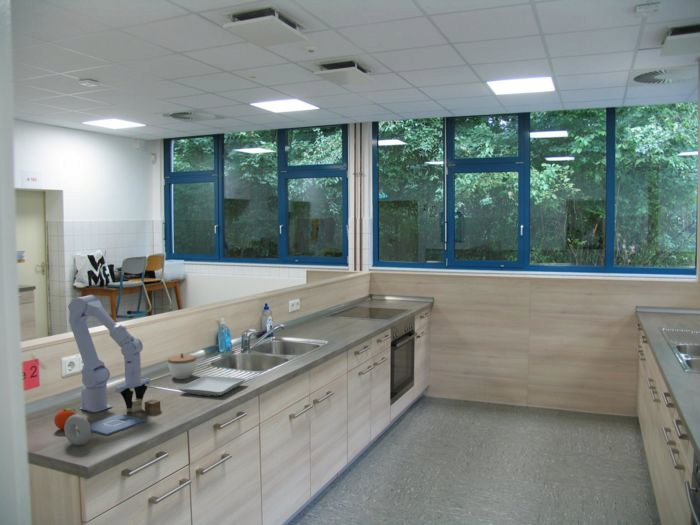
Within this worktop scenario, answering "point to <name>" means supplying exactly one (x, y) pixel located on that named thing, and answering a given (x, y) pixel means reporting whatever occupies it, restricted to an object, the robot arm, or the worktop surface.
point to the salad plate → (211, 385)
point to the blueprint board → (115, 424)
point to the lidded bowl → (182, 366)
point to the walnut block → (152, 406)
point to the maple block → (135, 405)
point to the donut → (82, 426)
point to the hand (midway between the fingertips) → (134, 406)
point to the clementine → (63, 417)
